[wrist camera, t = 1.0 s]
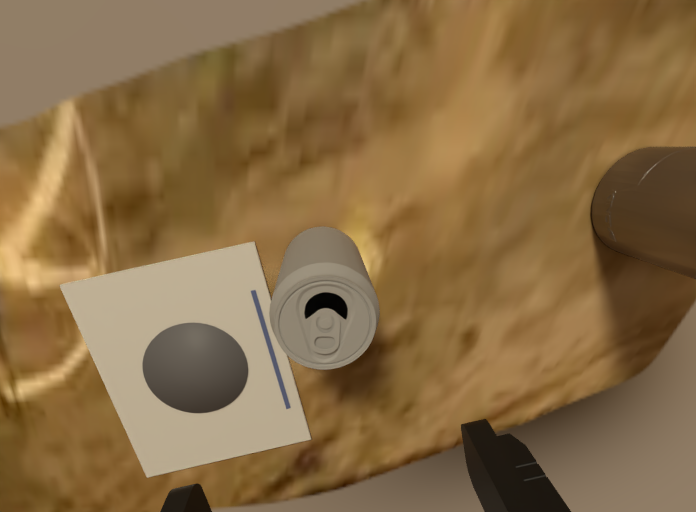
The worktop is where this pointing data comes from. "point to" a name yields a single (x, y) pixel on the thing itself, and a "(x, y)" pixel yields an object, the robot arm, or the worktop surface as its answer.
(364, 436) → the worktop surface
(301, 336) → the beverage can
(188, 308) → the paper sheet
